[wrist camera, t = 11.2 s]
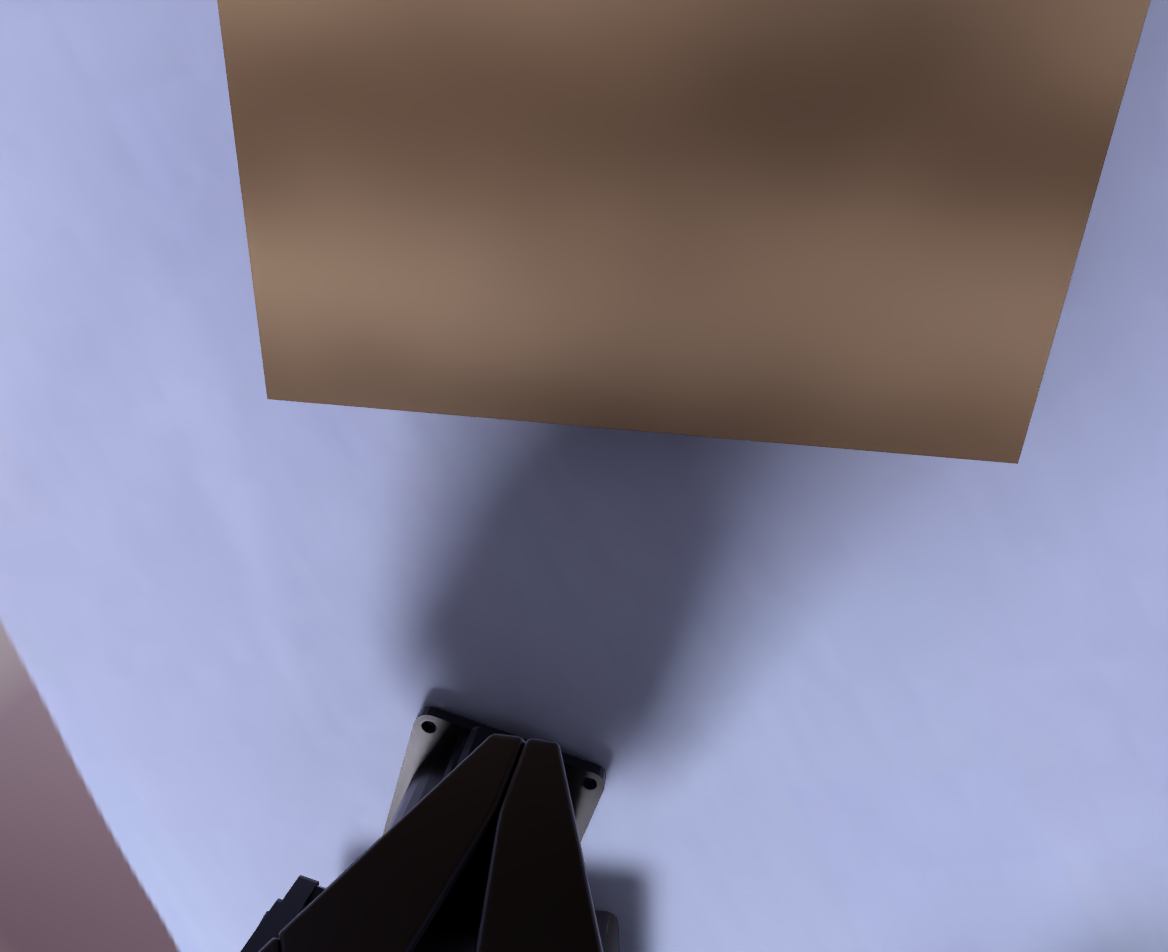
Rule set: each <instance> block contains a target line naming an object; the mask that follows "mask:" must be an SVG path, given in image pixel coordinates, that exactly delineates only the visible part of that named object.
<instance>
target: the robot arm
mask: <svg viewBox="0 0 1168 952" xmlns="http://www.w3.org/2000/svg"><path fill="white" fill-rule="evenodd" d="M427 721H431V722H433V723H434V724H435V725H431V724H429V723H428V722H427ZM586 778H592V779H594V780H593V781H591V780H587V779H586ZM605 779H606V774H605V771H604V770H603V768H602V767H601V766H599V765H597V764H595V763H592V762H589V761H586V760H583V759H581V758H578V757H575V756H572V755H569V754H566V753H564V752H561V749H560V746H559V744H558V743H557V742H555V741H548V740H541V739H534V738H530V739H528V740H527V739H524V738H522V737H519V736H515V735H513V734H510V733H507V732H504V731H501V730H498V729H496V728H493V727H490V726H487V725H484V724H481V723H479V722H476V721H473V720H470V719H467V718H464V717H461V716H459V715H456V714H453V713H450V712H447V711H444V710H442V709H439V708H436V707H425V708H423V709H422V710H421V711H420V712H419V714H418V716H417V718H416V720H415V722H414V725H413V729H412V732H411V736H410V740H409V743H408V747H407V750H406V754H405V758H404V761H403V765H402V768H401V772H400V775H399V779H398V783H397V786H396V790H395V793H394V797H393V800H392V804H391V808H390V811H389V815H388V818H387V822H386V825H385V829H384V833H383V836H382V837H381V838H380V839H379V840H377V841H376V842H375V843H374V844H373V845H372V846H371V847H370V848H369V849H368V850H367V851H366V852H365V853H364V854H362V855H361V856H360V857H359V858H358V859H357V860H356V861H355V862H354V863H353V864H352V865H351V866H350V867H349V868H347V869H346V870H345V871H344V872H343V873H342V874H341V875H340V876H339V877H338V878H337V879H336V880H335V881H334V882H332V883H331V884H330V885H329V886H328V887H327V888H324V887H321V886H319V882H318V881H316V880H313V879H310V878H307V877H304V876H302V875H300V876H299V877H298V879H297V880H296V882H295V883H294V884H293V886H292V887H291V889H290V890H289V892H288V893H287V894H286V896H285V897H284V899H283V900H281V899H278V900H277V901H276V902H275V904H274V905H273V906H272V908H271V909H270V911H267V912H266V914H265V915H264V917H263V919H262V920H261V922H260V924H259V926H258V927H257V929H256V930H255V932H254V933H253V935H252V936H251V938H250V939H249V940H248V942H247V943H246V945H245V946H244V947H243V949H242V950H241V952H603V948H602V943H601V938H600V934H599V929H598V924H597V919H596V915H595V910H594V905H593V900H592V896H591V891H590V886H589V881H588V877H587V872H586V867H585V862H584V858H583V853H582V848H581V843H580V842H581V840H582V838H583V835H584V833H585V831H586V828H587V826H588V824H589V822H590V819H591V817H592V815H593V813H594V810H595V808H596V806H597V803H598V801H599V799H600V797H601V794H602V792H603V790H604V785H605Z"/></svg>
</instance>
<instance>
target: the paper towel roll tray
mask: <svg viewBox="0 0 1168 952" xmlns="http://www.w3.org/2000/svg"><path fill="white" fill-rule="evenodd" d="M217 1H218V9H219V17H220V25H221V33H222V41H223V49H224V57H225V65H226V73H227V81H228V89H229V97H230V105H231V113H232V121H233V129H234V137H235V145H236V152H237V160H238V168H239V176H240V184H241V192H242V200H243V208H244V216H245V224H246V232H247V240H248V248H249V256H250V264H251V272H252V280H253V288H254V296H255V304H256V311H257V319H258V327H259V335H260V343H261V351H262V359H263V367H264V375H265V383H266V391H267V399H274V400H286V401H297V402H309V403H320V404H332V405H344V406H355V407H367V408H378V409H390V410H402V411H413V412H425V413H436V414H448V415H460V416H471V417H483V418H495V419H506V420H518V421H529V422H541V423H553V424H564V425H576V426H587V427H599V428H611V429H622V430H634V431H645V432H657V433H669V434H680V435H692V436H703V437H715V438H727V439H738V440H750V441H761V442H773V443H785V444H796V445H808V446H819V447H831V448H843V449H854V450H866V451H878V452H889V453H901V454H912V455H924V456H936V457H947V458H959V459H970V460H982V461H994V462H1005V463H1017V464H1018V461H1019V458H1020V454H1021V451H1022V447H1023V444H1024V440H1025V437H1026V433H1027V430H1028V426H1029V423H1030V419H1031V416H1032V412H1033V409H1034V405H1035V402H1036V398H1037V395H1038V391H1039V388H1040V384H1041V381H1042V377H1043V374H1044V370H1045V367H1046V363H1047V360H1048V356H1049V353H1050V349H1051V346H1052V342H1053V339H1054V335H1055V332H1056V328H1057V325H1058V321H1059V318H1060V314H1061V311H1062V307H1063V304H1064V300H1065V297H1066V293H1067V290H1068V287H1069V283H1070V280H1071V276H1072V273H1073V269H1074V266H1075V262H1076V259H1077V255H1078V252H1079V248H1080V245H1081V241H1082V238H1083V234H1084V231H1085V227H1086V224H1087V220H1088V217H1089V213H1090V210H1091V206H1092V203H1093V199H1094V196H1095V192H1096V189H1097V185H1098V182H1099V178H1100V175H1101V171H1102V168H1103V164H1104V161H1105V157H1106V154H1107V150H1108V147H1109V143H1110V140H1111V136H1112V133H1113V129H1114V126H1115V122H1116V119H1117V115H1118V112H1119V108H1120V105H1121V101H1122V98H1123V94H1124V91H1125V87H1126V84H1127V80H1128V77H1129V73H1130V70H1131V66H1132V63H1133V59H1134V56H1135V52H1136V49H1137V45H1138V42H1139V38H1140V35H1141V31H1142V28H1143V24H1144V21H1145V17H1146V14H1147V10H1148V7H1149V3H1150V0H217Z"/></svg>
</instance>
